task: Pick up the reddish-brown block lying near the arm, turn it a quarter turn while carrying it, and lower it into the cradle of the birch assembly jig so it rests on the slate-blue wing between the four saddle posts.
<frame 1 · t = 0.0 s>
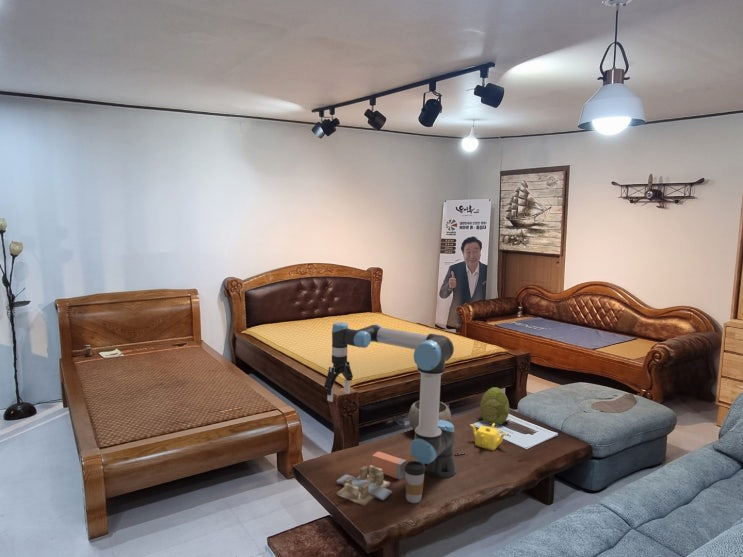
hand: (338, 397, 252), 28 cm above the table, fingers open, 13 cm apart
decorative sculpture: (493, 421, 299), on the table
teapot: (487, 445, 268), on the table
coffee cup: (413, 499, 216), on the table
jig: (363, 489, 222), on the table
reddish-brown block: (388, 472, 237), on the table
bowl: (429, 431, 282), on the table
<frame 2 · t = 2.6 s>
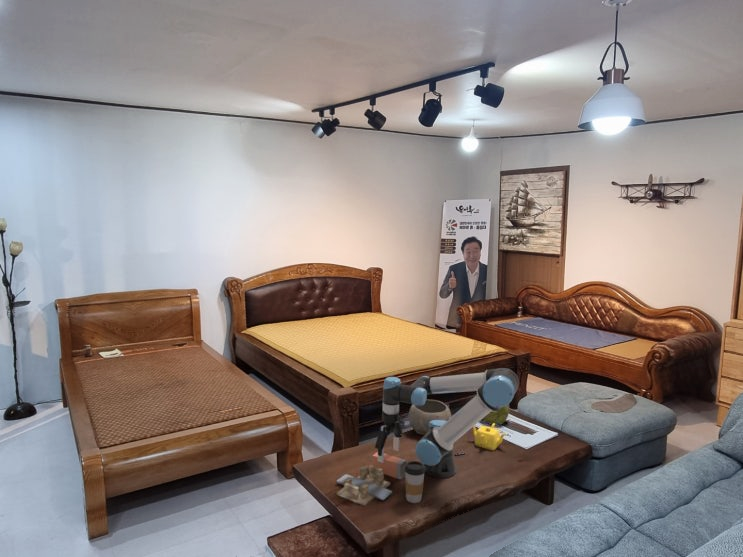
hand: (388, 455, 236), 8 cm above the table, fingers open, 13 cm apart
nothing on the table moved.
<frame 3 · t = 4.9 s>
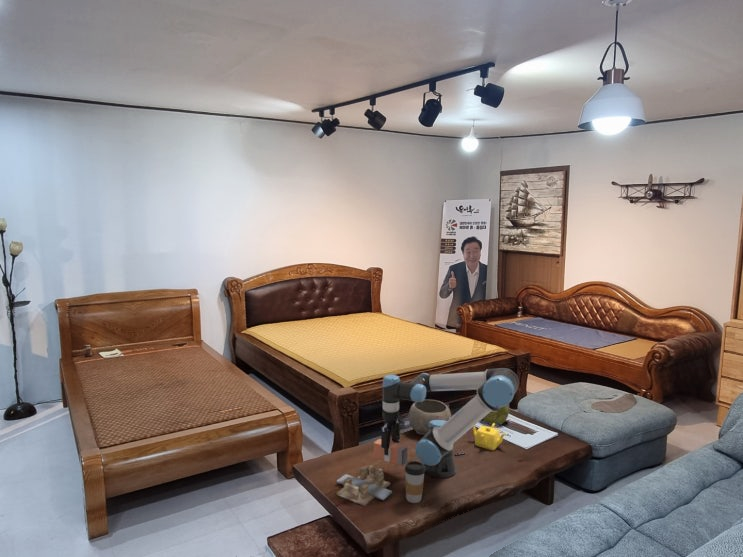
hand: (390, 458, 236), 7 cm above the table, fingers closed on reddish-brown block, 5 cm apart
reddish-brown block: (390, 459, 236), point 6 cm above the table, touching gripper
everything else where it was.
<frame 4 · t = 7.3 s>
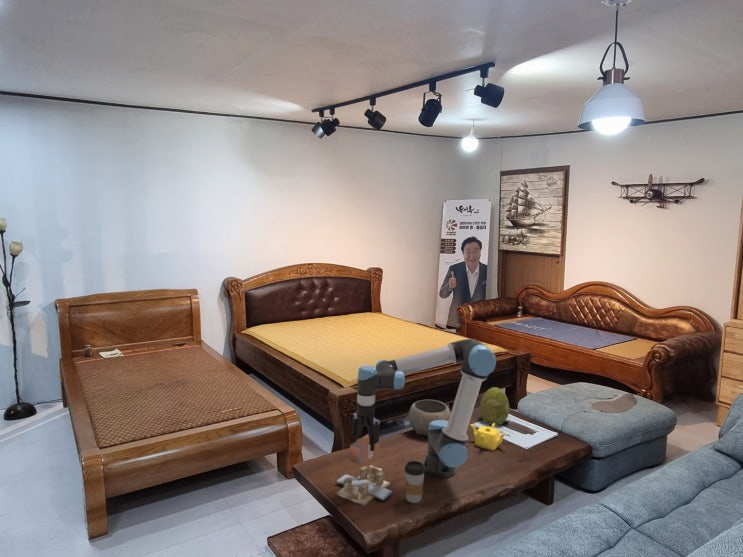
hand: (364, 455, 220), 16 cm above the table, fingers closed on reddish-brown block, 5 cm apart
reddish-brown block: (365, 455, 220), point 15 cm above the table, touching gripper
everything else where it was.
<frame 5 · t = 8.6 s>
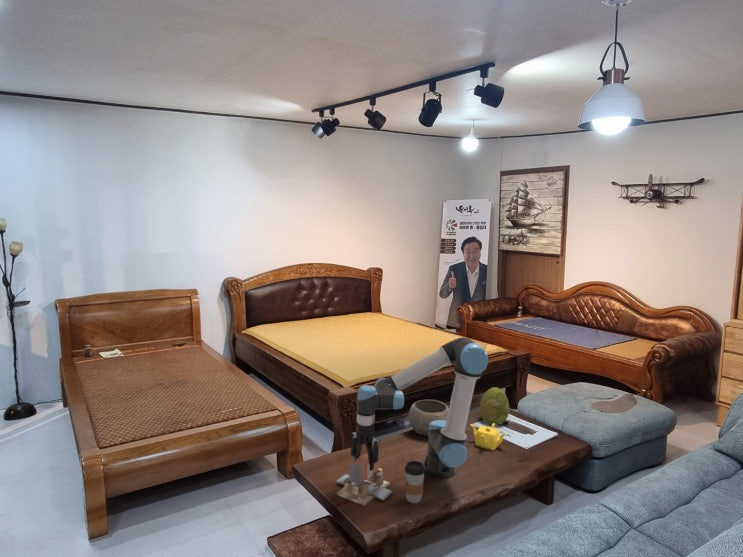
hand: (363, 474, 221), 7 cm above the table, fingers closed on reddish-brown block, 5 cm apart
reddish-brown block: (364, 475, 221), point 7 cm above the table, touching gripper
everything else where it was.
when the fingers open (3 cm above the table, at t = 9.8 s): reddish-brown block stays where it is, resting on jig.
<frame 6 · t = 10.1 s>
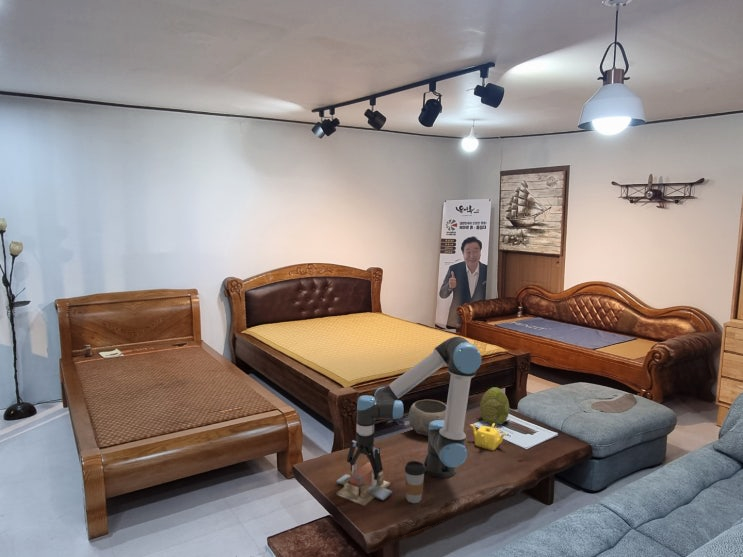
hand: (364, 482, 221), 3 cm above the table, fingers open, 9 cm apart
reddish-brown block: (364, 485, 222), point 2 cm above the table, touching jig
everything else where it was.
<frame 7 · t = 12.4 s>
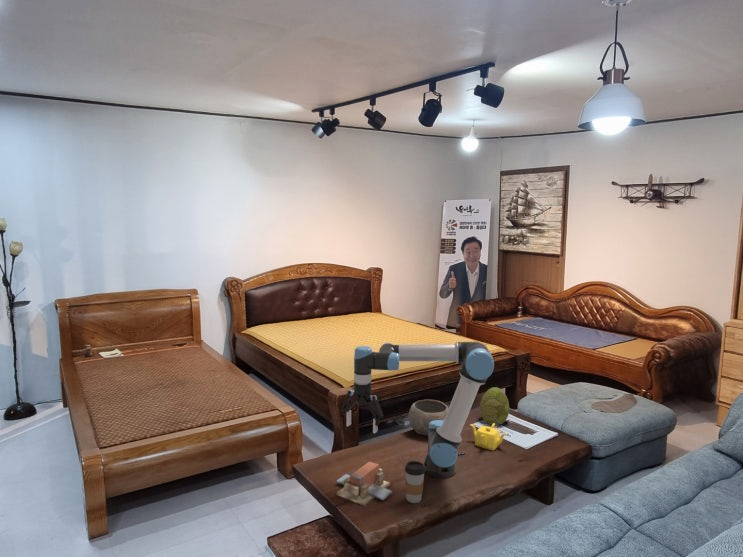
hand: (361, 428, 227), 24 cm above the table, fingers open, 13 cm apart
nothing on the table moved.
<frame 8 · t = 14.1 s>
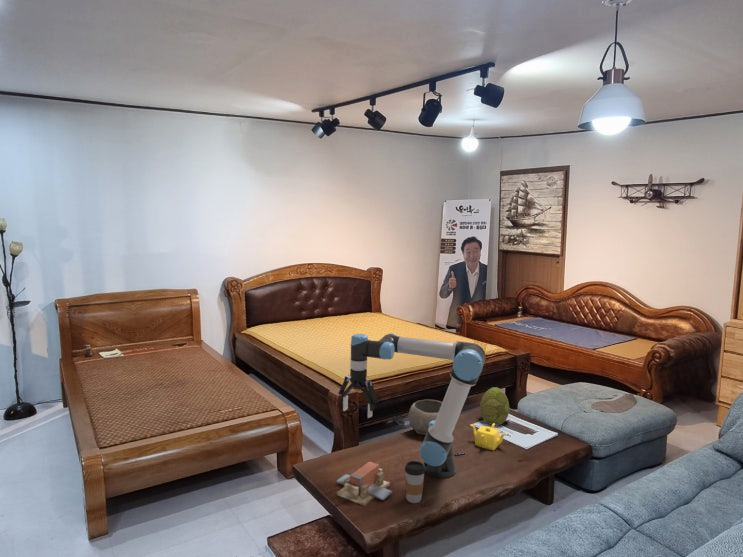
hand: (357, 413, 236), 27 cm above the table, fingers open, 13 cm apart
nothing on the table moved.
at the end: reddish-brown block 0.3 cm off-centre on the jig, point 1.8 cm above the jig's base; reddish-brown block tilted 0°; the gripper is holding nothing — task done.
